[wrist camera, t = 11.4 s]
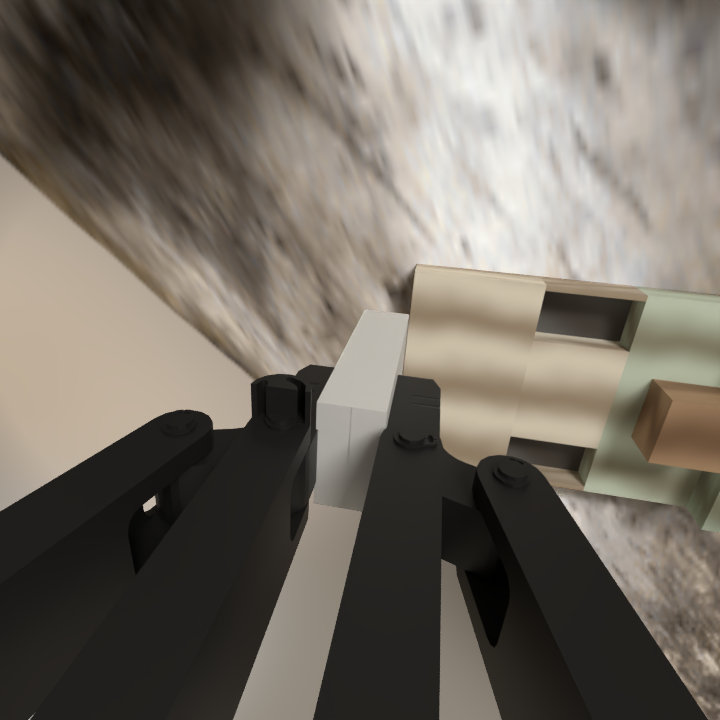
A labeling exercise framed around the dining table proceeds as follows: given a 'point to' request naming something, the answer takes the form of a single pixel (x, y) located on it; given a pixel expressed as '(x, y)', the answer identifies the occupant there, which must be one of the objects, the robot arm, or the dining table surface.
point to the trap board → (563, 375)
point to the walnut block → (680, 426)
